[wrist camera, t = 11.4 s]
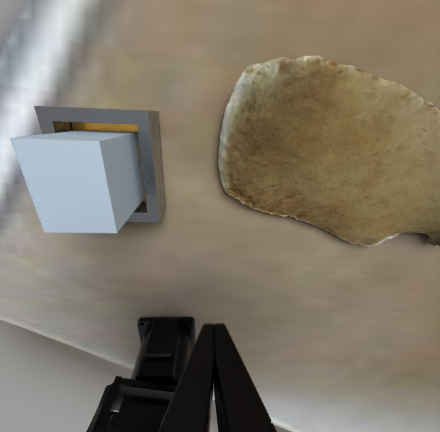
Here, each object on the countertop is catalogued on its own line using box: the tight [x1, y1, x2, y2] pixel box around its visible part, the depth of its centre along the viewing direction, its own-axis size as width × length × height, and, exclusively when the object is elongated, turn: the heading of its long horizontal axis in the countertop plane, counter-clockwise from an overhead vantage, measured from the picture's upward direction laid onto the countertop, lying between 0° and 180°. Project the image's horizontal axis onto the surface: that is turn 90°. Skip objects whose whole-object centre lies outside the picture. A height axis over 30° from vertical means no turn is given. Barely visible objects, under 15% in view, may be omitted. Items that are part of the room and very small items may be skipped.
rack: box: [34, 106, 166, 222], centre depth 16 cm, size 8×7×3 cm
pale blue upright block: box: [10, 130, 146, 233], centre depth 14 cm, size 5×4×6 cm
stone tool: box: [218, 55, 440, 247], centre depth 17 cm, size 12×4×25 cm
